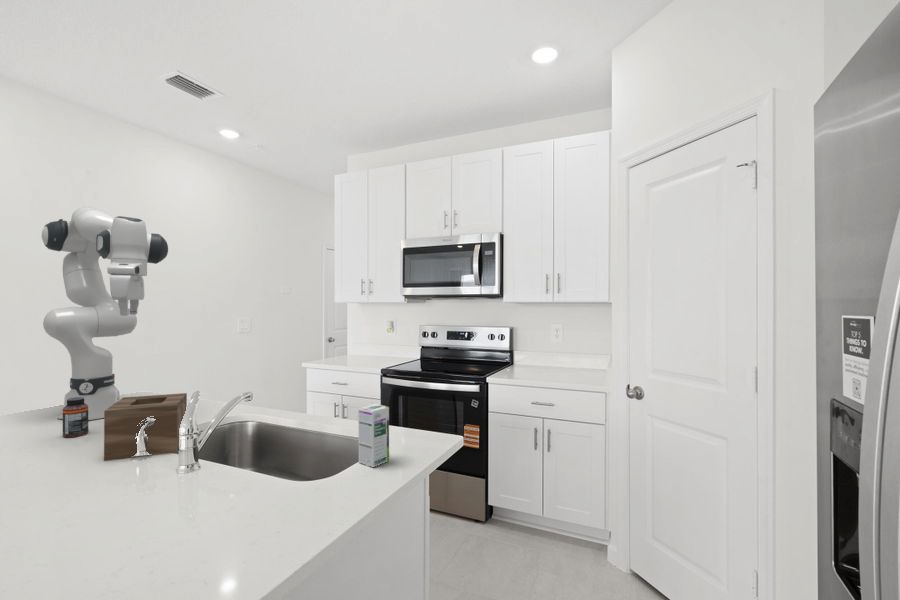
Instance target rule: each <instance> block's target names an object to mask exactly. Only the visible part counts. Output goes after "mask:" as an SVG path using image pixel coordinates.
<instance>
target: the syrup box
mask: <svg viewBox="0 0 900 600" xmlns="http://www.w3.org/2000/svg"><path fill="white" fill-rule="evenodd" d="M357 415H358V416H357V417H358V427H357V428H358V463H359V462H360V463H359V464H361V463H363V464H365V465H364V466H366V465H368V466H371V467H370V468H372V467H375V466H376V467H378V466H380V464H381V465H383V464H386V463H388V461H389V462H390V406H386V405H383V404H378V403H374V404H371V405H367V406H363V407H359V408H358V414H357ZM385 462H386V463H385ZM382 463H383V464H382ZM363 464H362V465H363ZM377 465H378V466H377ZM368 466H367V467H368ZM376 467H375V468H376Z"/></svg>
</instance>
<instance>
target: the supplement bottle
mask: <svg viewBox="0 0 900 600" xmlns="http://www.w3.org/2000/svg"><path fill="white" fill-rule="evenodd" d="M62 414H63V419H62V437H64V438H77V437H82V436H84V435H86V434H88V433H89V420H88V405H87V404H85V403H84V397H75V398H69V399H67V405H66V406H65V407H64V406H63V408H62Z"/></svg>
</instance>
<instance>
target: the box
mask: <svg viewBox="0 0 900 600" xmlns="http://www.w3.org/2000/svg"><path fill="white" fill-rule="evenodd" d="M187 394H188V393H187V392H183V393H182V392H181V393H168V394H155V395H139V396H127V397H125V396H124V397H123V396H122V398H120V400H119V401H118V402H116V403H115V404H113V405H112V406H110V407H109V408H108V409H106V410H105V411H104V418H103V419H104V420H103V421H104V422H103V423H104V424H103V425H104V427H103V432H104V433H103V436H104V437H103V440H104V441H103V461H104V462H105V461H113V460H123V459H130V458H131V457H132V456H134V455H135V454H136V453H137V444H136V442H137V438H136V439H135V437H136V433H137V436H138V433H139V431H140V429H141V427H142V426H143V425H145V423H147V422H148V421H146V420H147V419H146V418H147V417H150V416H154V417H150V418H154V419H156V420H155V421H156V422H155V423H154V424H153V425H151V426H149V427H148V428H146V429H147V430H145V434H147V437H148V441H147V447H146V451H147V452H148V453H149V454H152V455H151V456H157V455H158V456H159V455H165V454H166V455H167V454H172V453H177V452H178V451H179V450H180V449H179V448H180V447H179V428H180V424H181V421H182V419H183V416H184V414H185V411H186V407H188V406H187V402H188V401H187V399H188V398H187V396H188V395H187ZM144 419H145V420H144ZM142 420H144V421H142ZM141 421H142V422H141ZM145 421H146V422H145ZM139 423H140V424H141V423H143V424H141V426H140V424H139ZM137 425H138V426H137Z"/></svg>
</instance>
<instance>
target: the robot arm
mask: <svg viewBox="0 0 900 600" xmlns="http://www.w3.org/2000/svg"><path fill="white" fill-rule="evenodd" d="M41 240H42V242H43V245H44V246H45V247H46V248H47V249H48V250H51V251H54V252H55V251H56V252H66V253H67V254H66V255H65V256H64V258H63V261H62V277H63V283H64V289H65V293H66V297H67V298H68V299H69V301H70V302H72V303H74V304H76V305H77V306H69V307H68V306H66V307H60V308H55V309H51V310H50V311H48V312H47V314H46V315H45V316H44V318H43V322H42V325H43V326H42V327H43V329H44V331H45V333H46V334H47V335H48V336H50V337H51V338H53V339H55V340H57V341H58V342H59V343H61V344H62V345H63V346H64V347H65V349H67V352H68V354H69V356H70V362H71V377H70V378H69V379H70V380H69V388H70V389H69V391H68V392H67V393H65V394H64V399H63V400H64V401H63V408H64V407H65V406H66V405H67V399H69V398H75V397H84V403H85V404H87V405H88V421H91V420H98V419H104V411H105V410H106V409H108V408H109V407H110V406H112V405H113V404H115V403H116V402H118V401H119V400H120V399H121V398H120V391H119V389H118V388H117V387H116V386H115V384H116V383H115V380H116V379H115V377H116V376H115V373H113V354H112V352H111V351H109V350H108V349H106V348H103V347H101V346H97V345H95V344H94V343H93V338H104V337H105V338H107V337H108V338H109V337H118V336H124V335H127V334H128V335H129V334H130V333H132V332H133V331H134V330H135V328H136V327H137V323H138V319H137V318H138V317H137V314H138V308H139V306H140V301H142V300H144V299H145V283H144V282H145V281H144V277H146V276H148V263H149V264H157V265H158V263H161V262H162V261H164V260H165V259H166V258H167V256H168V253H169V245H168V243H167V240H166V239H165V238H164V237H163V236H162V235H161V234H159V233H148V232H147V227H146V223H145V221H144V220H142V219H140V218H137V217H130V216H122V215H117V216H112V215H110V214H108V213H106V211H104V210H101V209H100V208H97V207H92V206H91V207H90V206H82V207H78V208H77V209H75V210H74V212H73V213H72V214H71V218H70V220H63V218H60V219H58V220H56V221H50V222H48V223H46V224H45V225H44V227H43V228H42V231H41ZM100 257H101V258H102V259H103V260H105V259H107V260H110V265H107V267H106V268H107V271H106V272H107V274H108V275H109V287H110V290H109V291H110V293H109V292H108V291H107V288H106V284H105V281H104V277H103V274H102V271H101V268H100V264H99V261H100V260H99V259H100ZM129 305H130V306H129ZM57 419H58V420H63V413H62V414H59V415H57Z"/></svg>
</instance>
